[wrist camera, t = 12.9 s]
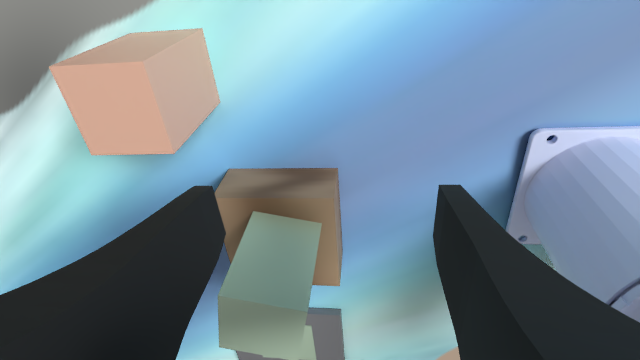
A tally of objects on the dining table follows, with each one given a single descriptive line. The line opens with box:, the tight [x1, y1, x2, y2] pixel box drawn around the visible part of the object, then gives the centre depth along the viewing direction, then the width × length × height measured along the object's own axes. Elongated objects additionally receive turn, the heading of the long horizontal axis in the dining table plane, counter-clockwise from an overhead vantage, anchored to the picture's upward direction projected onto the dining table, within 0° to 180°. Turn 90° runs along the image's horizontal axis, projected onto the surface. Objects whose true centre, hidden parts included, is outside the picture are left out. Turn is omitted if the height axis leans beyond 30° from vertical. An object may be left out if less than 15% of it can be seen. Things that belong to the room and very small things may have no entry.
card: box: [236, 308, 345, 360], centre depth 33 cm, size 10×8×1 cm
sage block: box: [218, 211, 322, 360], centre depth 20 cm, size 4×4×6 cm
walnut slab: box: [214, 168, 343, 286], centre depth 24 cm, size 7×7×4 cm
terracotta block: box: [49, 28, 220, 155], centre depth 18 cm, size 4×4×6 cm
